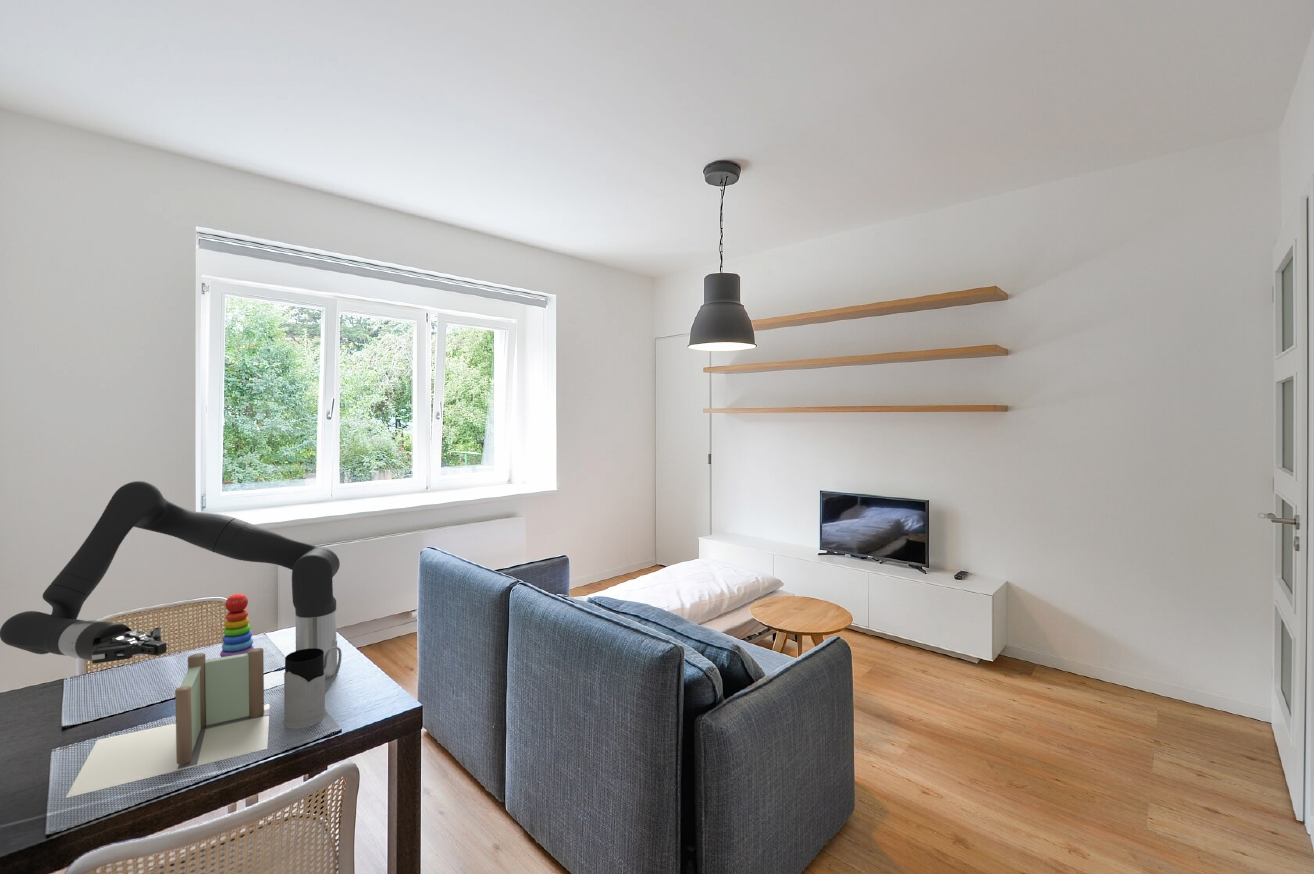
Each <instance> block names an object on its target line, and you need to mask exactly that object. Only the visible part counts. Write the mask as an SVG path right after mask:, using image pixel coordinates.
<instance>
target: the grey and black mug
mask: <svg viewBox="0 0 1314 874" xmlns="http://www.w3.org/2000/svg"><path fill="white" fill-rule="evenodd" d="M335 648H337V654H338V657H337V668H336V671H335V673H334V676H333V677H331V679H330V681H329V683H328V684H327V686H326V687H325V685H326V683H325V681H326V680H325V673H324V670H325V669H326V667H327V659H328V655H329V653H330V652H331V651H332V650H333V649H335ZM342 656H343V655H342V650H341V648H340V647H339V646H337V647H332V648H330V649H329V650H328V651H327V653H326V655H325V658H324V651H323V650H322V649H318V648H308V649H302V650H298V651H296V650H295V651H293V652H290V653H288V654H287V655H286V656H285V658H284V673H283V682H284V685H283V686H284V687H283V689H284V690H283V691H284V693H283V694H284V697H283V698H284V700H283V701H284V707H283V708H284V709H283V710H284V718H283V722H282V725H283V726H284V727H285V728H287V729H288V728H289V729H301V728H306V727H307V728H308V727H310V726H312V725H315V724H316V725H317V724H318V723H320V722H321V721H323V720H324V719H325V718H326V716H327V711H326V694H327V693H328V691H329V689H330V688H331V686H332V685H333V683H334V682H335V680H336V678H337V676H338V673H339V671H340V667H341V663H342V658H343V657H342Z"/></svg>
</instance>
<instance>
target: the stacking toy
mask: <svg viewBox="0 0 1314 874" xmlns="http://www.w3.org/2000/svg"><path fill="white" fill-rule="evenodd" d="M248 604H249V599H248V597H247V596H246V595H245V594H242V593H235V594H231V595H230V596H229V597H228V598H227V599H226V601H225V603H224V605H225V609H226V610H227V611H228V613H226V614H225V619H226V620H225V622H224V624H223V626H224V629H223V634H224V636H223V637H222V642H223V643H222V644H221V648H222V649H221V650H220V653H219V655H220V658H221V657H227V656H232V655H238V654H244V653H247V652H248V651H249V650H251V649H255V648H254V645H253V644H254V639H253V638H252V636H253V633H252V631H250V630H251V625H250V624H249V622H250V619H249V618H248V615H249V612H248V610H246V608H247V607H248Z"/></svg>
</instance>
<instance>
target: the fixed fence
mask: <svg viewBox="0 0 1314 874" xmlns="http://www.w3.org/2000/svg"><path fill="white" fill-rule="evenodd" d="M264 661H265V659H264V648H262V647H257V648H254V649H251V650H249V651H248V652H247V653H244V654H238V655H232V656H227V657H221V656H220V657H215V658H210V659H206V653H204V652H200V653H194V654H191V655H188V657H187V670H188V669H189V668H192V667H198V666H201V671H200V709H201V729H203V728H205V727H206V725H210V724H215V723H219V722H224V721H229V720H233V719H238V718H242V717H247V716H248V717H249V718H257V717H260V716H262V715H263V714H264V705H265V678H264V675H265V673H264V670H265V669H264V667H265V666H264V663H265V662H264Z"/></svg>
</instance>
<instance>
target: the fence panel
mask: <svg viewBox="0 0 1314 874" xmlns="http://www.w3.org/2000/svg"><path fill="white" fill-rule="evenodd" d="M200 671H201V666H198V667H192V668H189V669H188V668H187V672H186V673H185V675H184V678H183V680H182V682H181V684H180V687H177V688H176V689H175V690H174V691H175V692H174V695H175V697H174V698H175V699H174V700H175V702H174V703H175V723H176V761H177V764H184V763H187V762H189V761H191V760H192V752H193V749H194V746H195V744H196V741H197V738H198V735H199V732H200V730H201V709H200Z"/></svg>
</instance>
